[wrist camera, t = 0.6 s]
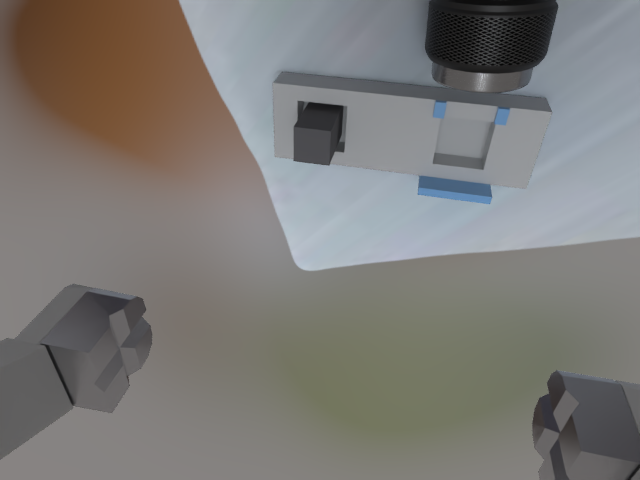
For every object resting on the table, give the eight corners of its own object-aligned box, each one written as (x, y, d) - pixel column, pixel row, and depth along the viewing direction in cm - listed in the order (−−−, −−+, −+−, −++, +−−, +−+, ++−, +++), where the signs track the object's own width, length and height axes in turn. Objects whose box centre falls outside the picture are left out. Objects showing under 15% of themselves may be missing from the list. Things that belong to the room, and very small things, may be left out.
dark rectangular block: (310, 99, 49) (293, 126, 44) (343, 103, 49) (330, 131, 43) (309, 131, 52) (293, 160, 46) (341, 135, 51) (329, 165, 46)
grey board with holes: (282, 71, 49) (265, 91, 45) (545, 98, 46) (557, 123, 41) (283, 149, 55) (268, 174, 50) (519, 179, 51) (527, 209, 46)
